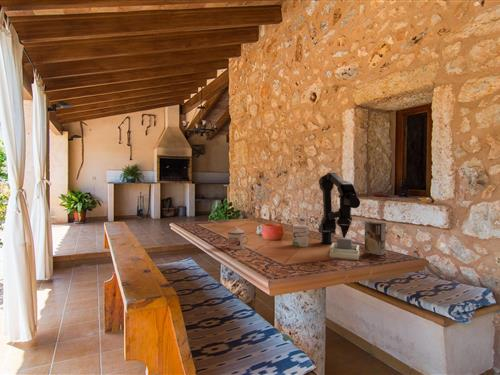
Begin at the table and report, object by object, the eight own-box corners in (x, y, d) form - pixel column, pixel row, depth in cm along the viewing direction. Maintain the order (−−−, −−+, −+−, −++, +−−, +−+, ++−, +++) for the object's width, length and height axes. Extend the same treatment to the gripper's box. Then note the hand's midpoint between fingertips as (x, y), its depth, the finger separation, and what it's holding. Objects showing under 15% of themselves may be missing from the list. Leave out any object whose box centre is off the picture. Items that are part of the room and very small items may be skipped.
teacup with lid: (225, 248, 173) (225, 227, 173) (231, 245, 182) (231, 225, 181) (246, 250, 169) (246, 228, 169) (251, 247, 178) (251, 226, 178)
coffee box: (386, 253, 166) (386, 222, 166) (381, 255, 162) (382, 224, 161) (368, 250, 173) (369, 221, 172) (363, 252, 168) (364, 222, 167)
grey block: (338, 250, 172) (338, 236, 172) (351, 251, 170) (351, 237, 170) (337, 252, 168) (337, 238, 168) (351, 253, 165) (351, 239, 165)
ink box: (292, 246, 182) (292, 225, 182) (293, 244, 187) (293, 224, 187) (307, 247, 180) (307, 226, 180) (307, 245, 185) (308, 225, 184)
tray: (332, 252, 166) (332, 248, 166) (359, 255, 162) (359, 250, 162) (329, 257, 157) (329, 252, 157) (358, 260, 152) (358, 255, 152)
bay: (332, 247, 180) (333, 242, 180) (359, 249, 175) (359, 244, 175) (329, 252, 168) (330, 247, 168) (358, 254, 163) (358, 250, 162)
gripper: (331, 204, 180) (331, 231, 180) (327, 207, 162) (326, 237, 163) (352, 205, 176) (351, 233, 176) (350, 208, 158) (349, 239, 159)
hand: (344, 235), depth 169 cm, fingers open, 9 cm apart
